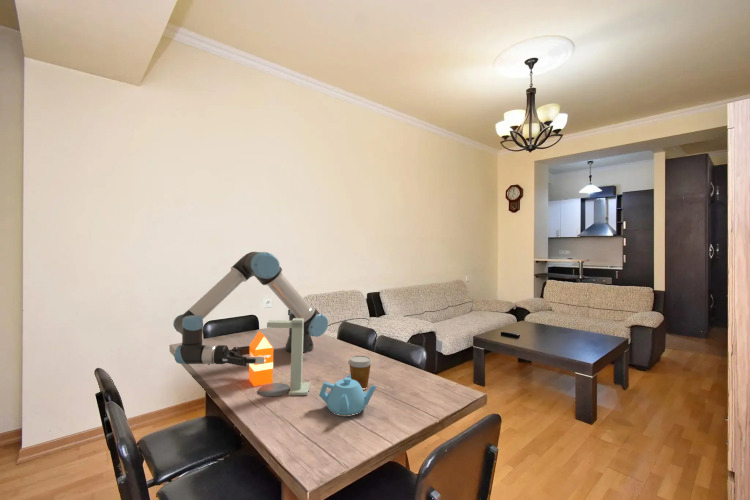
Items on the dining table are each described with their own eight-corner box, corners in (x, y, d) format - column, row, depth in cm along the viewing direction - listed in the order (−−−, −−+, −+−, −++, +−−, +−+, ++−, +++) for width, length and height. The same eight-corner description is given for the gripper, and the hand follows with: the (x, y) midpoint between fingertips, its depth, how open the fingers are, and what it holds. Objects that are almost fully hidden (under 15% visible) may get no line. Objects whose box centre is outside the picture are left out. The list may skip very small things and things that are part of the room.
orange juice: (266, 375, 151) (268, 330, 151) (273, 382, 144) (274, 334, 144) (248, 379, 147) (249, 332, 147) (253, 386, 139) (254, 336, 139)
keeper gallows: (263, 395, 131) (265, 321, 131) (269, 385, 141) (271, 316, 141) (307, 395, 132) (309, 322, 132) (310, 385, 142) (312, 316, 142)
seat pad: (254, 396, 130) (254, 395, 130) (262, 384, 142) (262, 383, 142) (286, 396, 131) (287, 395, 131) (292, 384, 143) (292, 383, 143)
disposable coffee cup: (374, 385, 144) (375, 356, 144) (366, 394, 135) (367, 363, 135) (353, 382, 147) (353, 353, 147) (343, 390, 138) (344, 360, 138)
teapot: (349, 395, 134) (350, 367, 134) (377, 409, 123) (377, 379, 123) (316, 407, 123) (317, 377, 123) (343, 423, 112) (343, 390, 112)
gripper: (226, 354, 156) (274, 354, 158) (203, 374, 132) (260, 374, 133) (227, 337, 156) (275, 338, 158) (203, 354, 132) (260, 355, 133)
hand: (268, 354), depth 145 cm, fingers open, 13 cm apart
